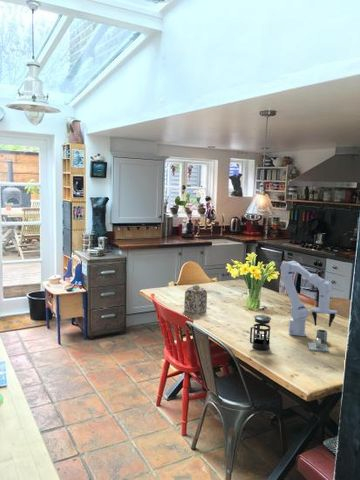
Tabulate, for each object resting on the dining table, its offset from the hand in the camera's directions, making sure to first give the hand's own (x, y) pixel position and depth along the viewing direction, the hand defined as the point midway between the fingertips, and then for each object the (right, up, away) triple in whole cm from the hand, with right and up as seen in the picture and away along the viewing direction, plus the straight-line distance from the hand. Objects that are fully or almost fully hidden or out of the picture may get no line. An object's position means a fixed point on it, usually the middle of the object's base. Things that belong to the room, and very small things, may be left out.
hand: (322, 325), depth 230 cm
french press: (-38, -10, -10) cm, 40 cm away
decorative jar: (-70, -1, +52) cm, 88 cm away
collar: (0, -9, +1) cm, 9 cm away
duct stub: (-6, -10, -9) cm, 15 cm away
